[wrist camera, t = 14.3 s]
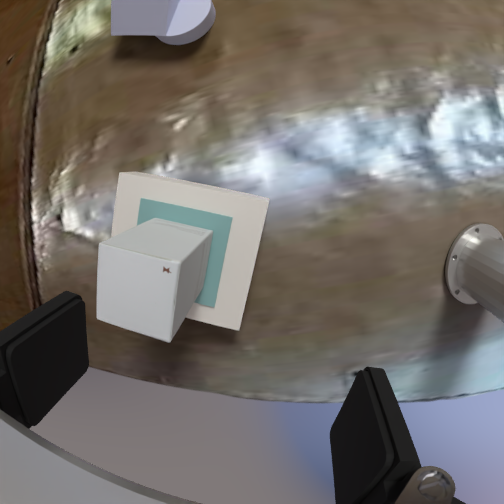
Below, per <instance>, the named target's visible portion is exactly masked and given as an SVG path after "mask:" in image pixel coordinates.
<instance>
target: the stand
mask: <svg viewBox="0 0 504 504" xmlns="http://www.w3.org/2000/svg"><path fill="white" fill-rule="evenodd" d="M269 199H270V198H265V197H261V196H257V195H252V194H248V193H243V192H238V191H234V190H229V189H224V188H220V187H215V186H210V185H205V184H200V183H195V182H190V181H185V180H179V179H174V178H169V177H163V176H158V175H152V174H146V173H141V172H120V173H119V180H118V186H117V193H116V200H115V208H114V216H113V225H112V235H111V237H113V236H116V235H118V234H120V233H122V232H124V231H126V230H128V229H131V228H133V227H135V226H137V225H140V224H142V223H144V222H146V221H149V220H151V219H153V218H159V219H164V220H168V221H172V222H177V223H181V224H186V225H191V226H194V227H199V228H204V229H208V230H212V231H213V236H212V242H211V247H210V253H209V258H208V264H207V269H206V275H205V280H204V285H203V289H202V290H201V292H200V293H199V295H198V297H197V298H196V300H195V302H194V303H193V305H192V307H191V308H190V310H189V312H188V313H187V315H186V318H189V319H193V320H197V321H201V322H205V323H209V324H213V325H217V326H221V327H225V328H229V329H234V330H238V331H239V329H240V325H241V320H242V316H243V312H244V308H245V303H246V299H247V295H248V290H249V286H250V282H251V278H252V273H253V269H254V265H255V260H256V256H257V252H258V248H259V243H260V239H261V235H262V230H263V226H264V222H265V217H266V213H267V209H268V204H269Z"/></svg>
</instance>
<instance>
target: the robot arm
mask: <svg viewBox="0 0 504 504" xmlns="http://www.w3.org/2000/svg"><path fill="white" fill-rule="evenodd" d="M445 277H446V283H447V287H448V289H449V291H450V293H451V294H452V295H453V296H454V297H455V298H456V299H457V300H458V301H460V302H462V303H464V304H476V303H479V304H480V305H482V306H483V307H484V308H486V309H487V310H488V311H489V312H491V313H492V314H493V315H495V316H496V317H497V318H498V319H500V320H501V321H502V322H503V323H504V239H503V237H502V235H501V233H500V232H499V231H498V230H497V229H496V228H495V227H493V226H491V225H488V224H485V223H477V224H473V225H471V226H469V227H467V228H466V229H464V230H463V231H462V232H461V233H460V234H459V235H458V237H457V238H456V239H455V241H454V242H453V244H452V246H451V248H450V251H449V253H448V256H447V261H446V267H445ZM88 366H89V358H88V347H87V333H86V314H85V303H84V301H82V298H81V296H80V295H77V294H74V293H72V292H69V291H65V292H63V293H61V294H59V295H58V296H56V297H54V298H53V299H51V300H50V301H48V302H46V303H45V304H43V305H41V306H40V307H38V308H36V309H35V310H33V311H32V312H30V313H28V314H27V315H25V316H24V317H22V318H21V319H19V320H17V321H16V322H14V323H13V324H11V325H10V326H8V327H6V328H5V329H3V330H2V331H0V504H201V503H197V502H193V501H189V500H186V499H182V498H179V497H176V496H172V495H169V494H166V493H163V492H160V491H157V490H154V489H151V488H148V487H145V486H143V485H140V484H137V483H134V482H132V481H129V480H127V479H124V478H122V477H120V476H117V475H115V474H112V473H110V472H108V471H106V470H103V469H101V468H99V467H97V466H95V465H93V464H91V463H89V462H86V461H85V460H82V459H80V458H79V457H76V456H75V455H73V454H71V453H69V452H67V451H65V450H63V449H62V448H60V447H58V446H56V445H54V444H53V443H51V442H49V441H48V440H46V439H44V438H42V437H41V436H39V435H38V434H36V433H34V432H33V431H31V430H30V429H29V428H30V427H31V426H35V425H37V424H38V423H39V422H40V421H41V420H42V419H43V417H44V416H45V415H46V414H47V413H48V412H49V411H50V410H51V409H52V408H53V407H54V406H55V404H56V403H57V402H58V401H59V400H60V399H61V398H62V397H63V396H64V394H66V392H67V391H68V390H69V389H70V388H71V387H72V386H73V385H74V384H75V383H76V382H77V381H78V379H80V378H81V377H82V376H83V374H84V373H85V372H86V371H87V369H88ZM330 443H331V453H332V464H333V474H334V487H335V500H336V504H466V503H464V502H462V501H460V500H458V499H457V498H455V497H454V494H455V483H454V481H453V479H452V477H451V476H450V475H449V474H448V473H447V472H446V471H444V470H443V469H441V468H438V467H434V466H426V467H421V464H420V461H419V458H418V455H417V452H416V449H415V447H414V444H413V441H412V439H411V436H410V433H409V430H408V428H407V425H406V423H405V420H404V418H403V415H402V412H401V410H400V407H399V405H398V402H397V400H396V397H395V395H394V392H393V390H392V387H391V385H390V383H389V380H388V378H387V375H386V373H385V371H384V369H381V368H374V367H366V368H365V369H364V371H363V370H360V371H359V372H358V374H357V376H356V378H355V380H354V382H353V385H352V387H351V389H350V391H349V393H348V395H347V397H346V399H345V401H344V403H343V406H342V408H341V410H340V412H339V414H338V415H337V417H336V419H335V421H334V423H333V425H332V427H331V431H330Z"/></svg>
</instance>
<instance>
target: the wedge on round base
mask: <svg viewBox="0 0 504 504" xmlns="http://www.w3.org/2000/svg"><path fill="white" fill-rule="evenodd" d="M214 20H215V8H214V6H213V3H212V1H211V0H112V1H111V35H153V36H156V37H157V38H158V39H159V40H161V41H162V42H164V43H167V44H171V45H183V44H187V43H190V42H193V41H195V40H197V39H199V38H200V37H202V36H203V35H204V34H206V33H207V32H208V30H209V29H210V28H211V27H212V25H213V23H214Z"/></svg>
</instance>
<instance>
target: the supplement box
mask: <svg viewBox="0 0 504 504" xmlns="http://www.w3.org/2000/svg"><path fill="white" fill-rule="evenodd" d="M212 236H213V231H212V230H208V229H204V228H199V227H194V226H191V225H186V224H181V223H177V222H172V221H168V220H164V219H159V218H153V219H151V220H149V221H146V222H144V223H142V224H140V225H137V226H135V227H133V228H131V229H128V230H126V231H124V232H122V233H120V234H118V235H116V236H113V237H111V238H109V239H107V240H105V241H103V242H101V243H99V252H98V271H97V319H99V320H101V321H104V322H107V323H110V324H113V325H116V326H119V327H122V328H125V329H128V330H131V331H134V332H138V333H140V334H143V335H146V336H149V337H152V338H155V339H159V340H162V341H165V342H168V343H170V342H171V340H172V339H173V337H174V335H175V334H176V332H177V331H178V329H179V327H180V326H181V324H182V322H183V320H184V319H185V317H186V315H187V313H188V312H189V310H190V308H191V307H192V305H193V303H194V302H195V300H196V298H197V297H198V295H199V293H200V292H201V290H202V289H203V285H204V280H205V275H206V269H207V264H208V258H209V253H210V247H211V242H212Z"/></svg>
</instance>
